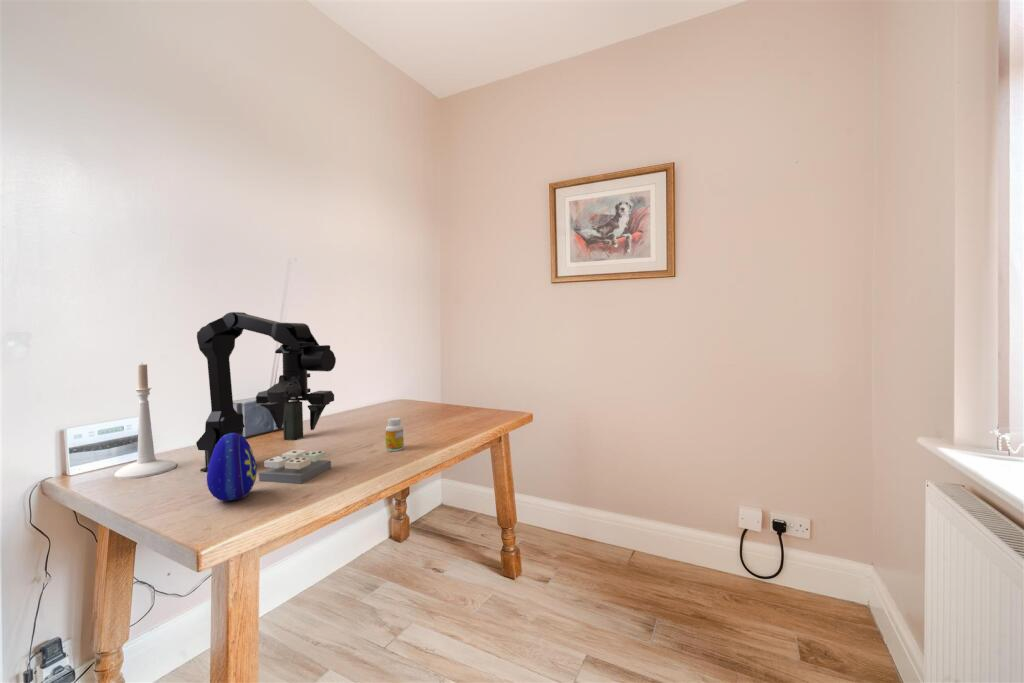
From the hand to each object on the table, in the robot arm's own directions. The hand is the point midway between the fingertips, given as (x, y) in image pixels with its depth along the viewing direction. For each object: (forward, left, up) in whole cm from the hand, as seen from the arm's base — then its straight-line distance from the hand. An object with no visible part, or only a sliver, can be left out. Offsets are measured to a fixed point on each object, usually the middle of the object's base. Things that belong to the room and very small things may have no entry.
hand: (296, 429), depth 109 cm
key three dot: (+3, +3, -9) cm, 10 cm away
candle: (-28, +32, -12) cm, 45 cm away
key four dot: (+3, -3, -9) cm, 10 cm away
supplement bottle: (+15, +25, -12) cm, 32 cm away
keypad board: (0, 0, -12) cm, 12 cm away
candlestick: (-44, -5, -12) cm, 46 cm away
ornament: (-3, -17, -12) cm, 21 cm away
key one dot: (-3, +3, -9) cm, 10 cm away
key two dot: (-3, -3, -9) cm, 10 cm away
